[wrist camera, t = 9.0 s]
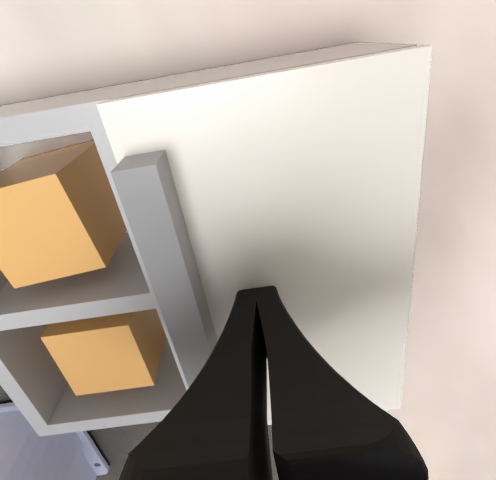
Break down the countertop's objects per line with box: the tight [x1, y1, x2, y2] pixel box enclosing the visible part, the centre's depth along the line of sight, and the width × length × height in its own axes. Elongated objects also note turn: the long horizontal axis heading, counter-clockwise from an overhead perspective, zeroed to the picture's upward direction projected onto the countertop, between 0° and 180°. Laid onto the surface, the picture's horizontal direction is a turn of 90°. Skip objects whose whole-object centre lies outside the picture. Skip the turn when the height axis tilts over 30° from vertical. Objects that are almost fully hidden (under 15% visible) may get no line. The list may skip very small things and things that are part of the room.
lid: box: [96, 45, 433, 425], centre depth 13 cm, size 15×9×2 cm, turn 9°
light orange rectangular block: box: [0, 140, 127, 289], centre depth 16 cm, size 4×4×5 cm
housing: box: [0, 42, 417, 437], centre depth 17 cm, size 15×18×6 cm
